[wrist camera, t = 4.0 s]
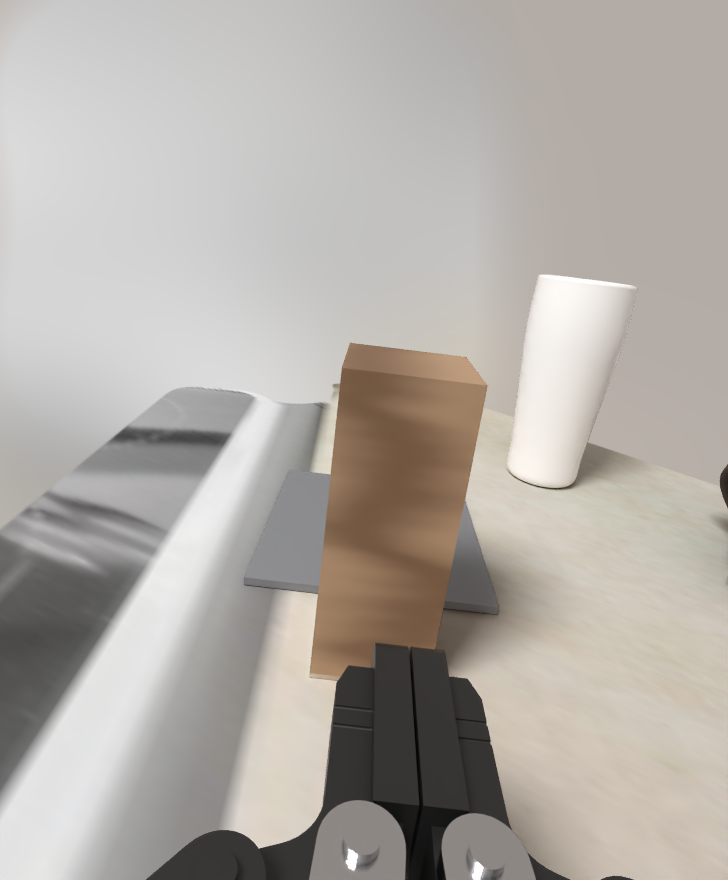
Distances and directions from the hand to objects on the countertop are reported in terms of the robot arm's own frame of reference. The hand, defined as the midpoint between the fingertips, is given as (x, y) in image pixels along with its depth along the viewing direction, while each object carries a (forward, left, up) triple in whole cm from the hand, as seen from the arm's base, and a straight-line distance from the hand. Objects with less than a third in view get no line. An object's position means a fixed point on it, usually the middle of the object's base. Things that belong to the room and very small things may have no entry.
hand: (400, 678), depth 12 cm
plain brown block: (0, -9, -7) cm, 12 cm away
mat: (0, -19, -7) cm, 20 cm away
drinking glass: (-13, -31, -7) cm, 34 cm away
